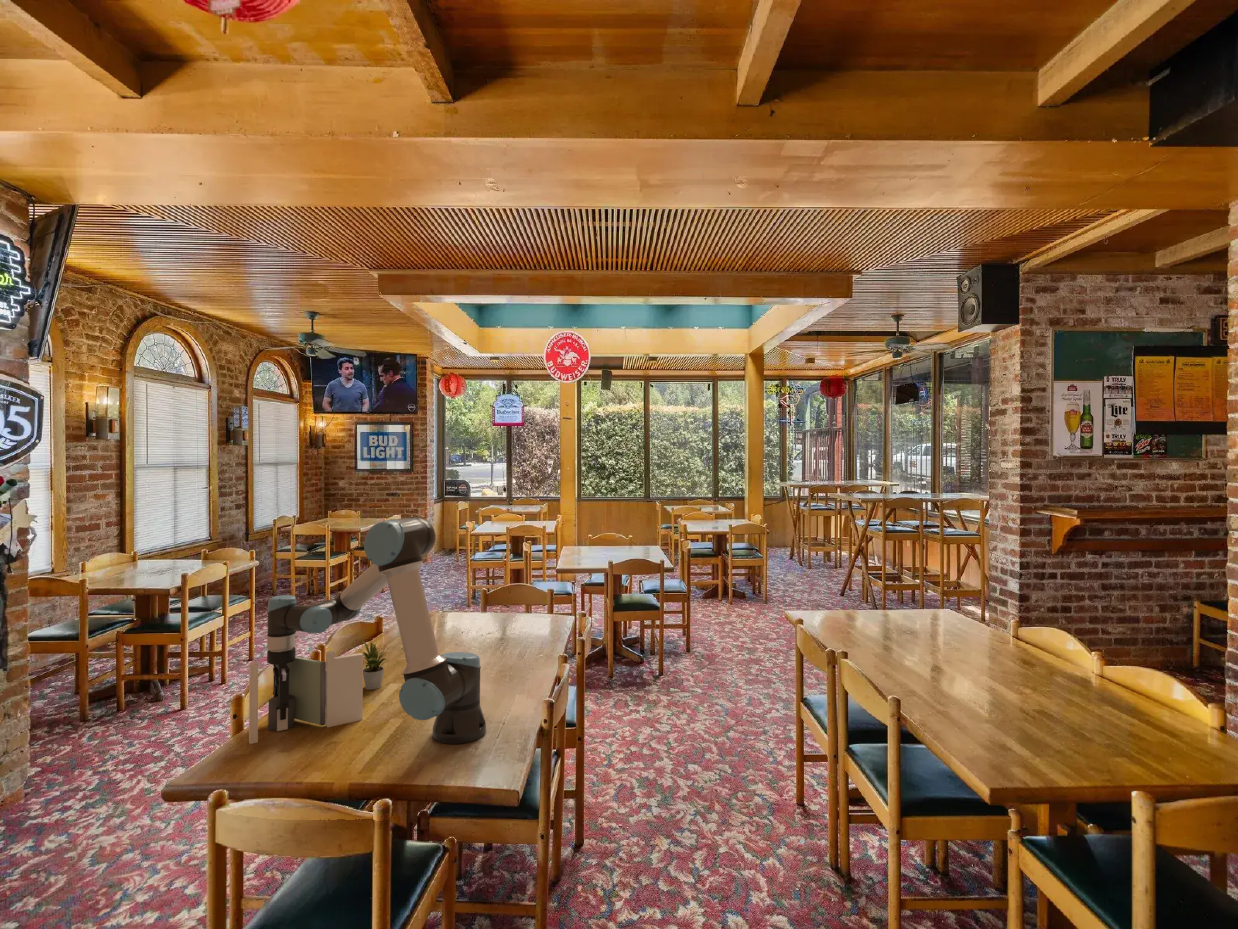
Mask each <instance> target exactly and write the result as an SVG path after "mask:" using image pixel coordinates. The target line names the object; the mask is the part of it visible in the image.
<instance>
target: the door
mask: <svg viewBox="0 0 1238 929" xmlns="http://www.w3.org/2000/svg"><path fill="white" fill-rule="evenodd" d="M287 666H288V668H289V670H290V673H289V674H290V676H289V695H292V696H295V720H299V721H302V722H306V723H309V724H310V723H311V724H314V725H318V726H326V661H321V660H316V659H310V658H306V657H302V656H301V657H300V656H296V658H295V660H294V661H293V662H289V663H288V664H287Z"/></svg>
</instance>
